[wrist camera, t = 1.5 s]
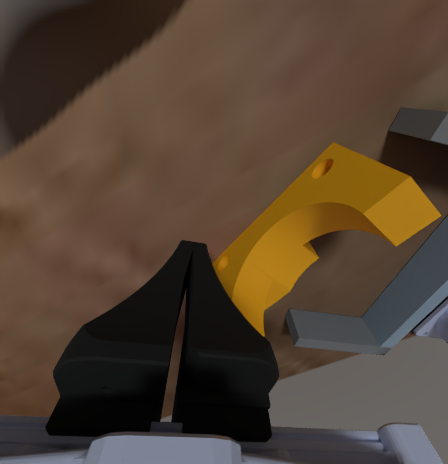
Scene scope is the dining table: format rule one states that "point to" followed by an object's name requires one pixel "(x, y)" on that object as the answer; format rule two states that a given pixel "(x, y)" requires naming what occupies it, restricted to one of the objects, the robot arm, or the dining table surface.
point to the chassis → (400, 289)
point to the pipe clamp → (318, 225)
